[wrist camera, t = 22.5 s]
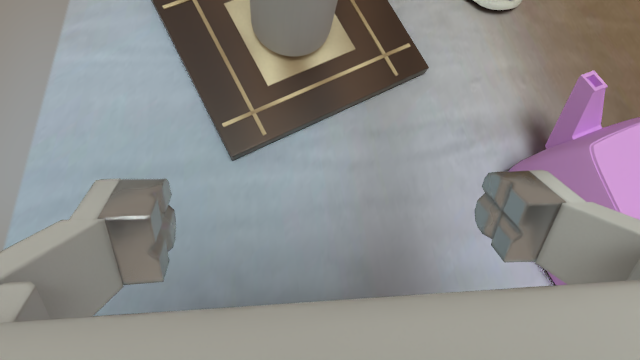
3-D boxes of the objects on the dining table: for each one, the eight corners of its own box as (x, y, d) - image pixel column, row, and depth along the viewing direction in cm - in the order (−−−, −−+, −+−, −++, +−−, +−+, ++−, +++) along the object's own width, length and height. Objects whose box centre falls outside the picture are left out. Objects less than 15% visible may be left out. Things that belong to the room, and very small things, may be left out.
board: (232, 161, 30) (230, 156, 29) (148, -7, 32) (144, -16, 31) (424, 73, 34) (429, 66, 33) (336, -70, 36) (339, -81, 35)
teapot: (471, 133, 33) (557, 73, 23) (570, 97, 35) (687, 27, 25) (573, 343, 30) (724, 377, 20) (675, 290, 32) (857, 297, 22)
